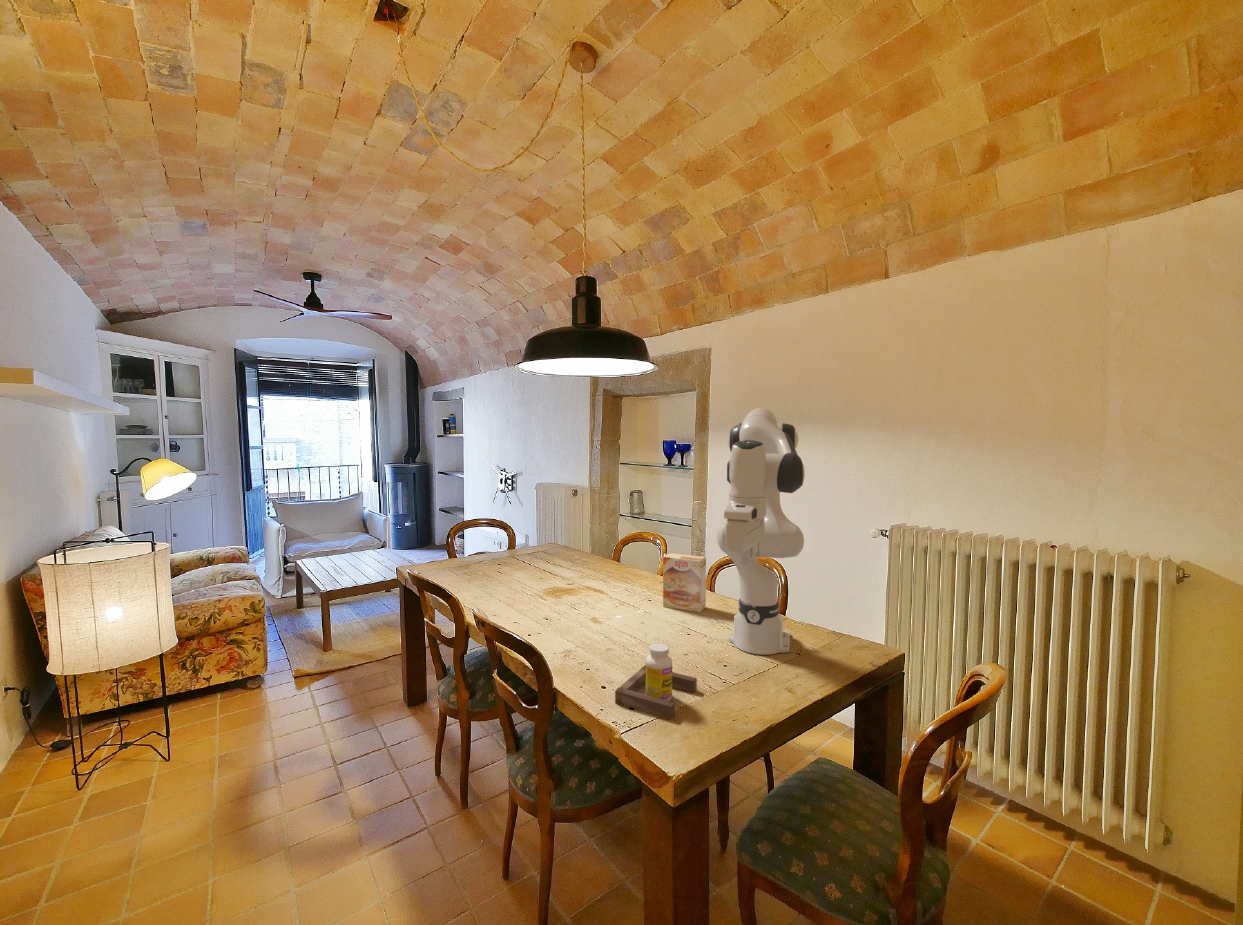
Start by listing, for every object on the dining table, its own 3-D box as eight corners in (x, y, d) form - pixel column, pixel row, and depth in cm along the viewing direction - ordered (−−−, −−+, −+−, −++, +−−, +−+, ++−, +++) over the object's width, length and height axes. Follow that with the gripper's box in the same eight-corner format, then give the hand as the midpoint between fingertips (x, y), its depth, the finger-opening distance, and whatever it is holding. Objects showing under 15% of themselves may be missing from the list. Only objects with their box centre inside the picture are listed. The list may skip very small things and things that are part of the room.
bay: (645, 676, 141) (645, 665, 140) (696, 689, 133) (696, 678, 133) (615, 702, 127) (615, 690, 127) (671, 719, 119) (671, 706, 119)
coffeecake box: (662, 607, 196) (662, 556, 195) (669, 601, 203) (669, 552, 202) (700, 613, 190) (700, 560, 189) (706, 607, 196) (706, 556, 195)
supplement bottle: (663, 707, 124) (663, 655, 124) (640, 699, 128) (640, 648, 128) (677, 696, 130) (677, 646, 129) (655, 688, 134) (655, 639, 133)
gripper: (746, 501, 136) (746, 553, 136) (721, 512, 118) (720, 572, 119) (771, 503, 132) (770, 556, 133) (748, 514, 115) (747, 575, 116)
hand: (746, 564), depth 126 cm, fingers closed
